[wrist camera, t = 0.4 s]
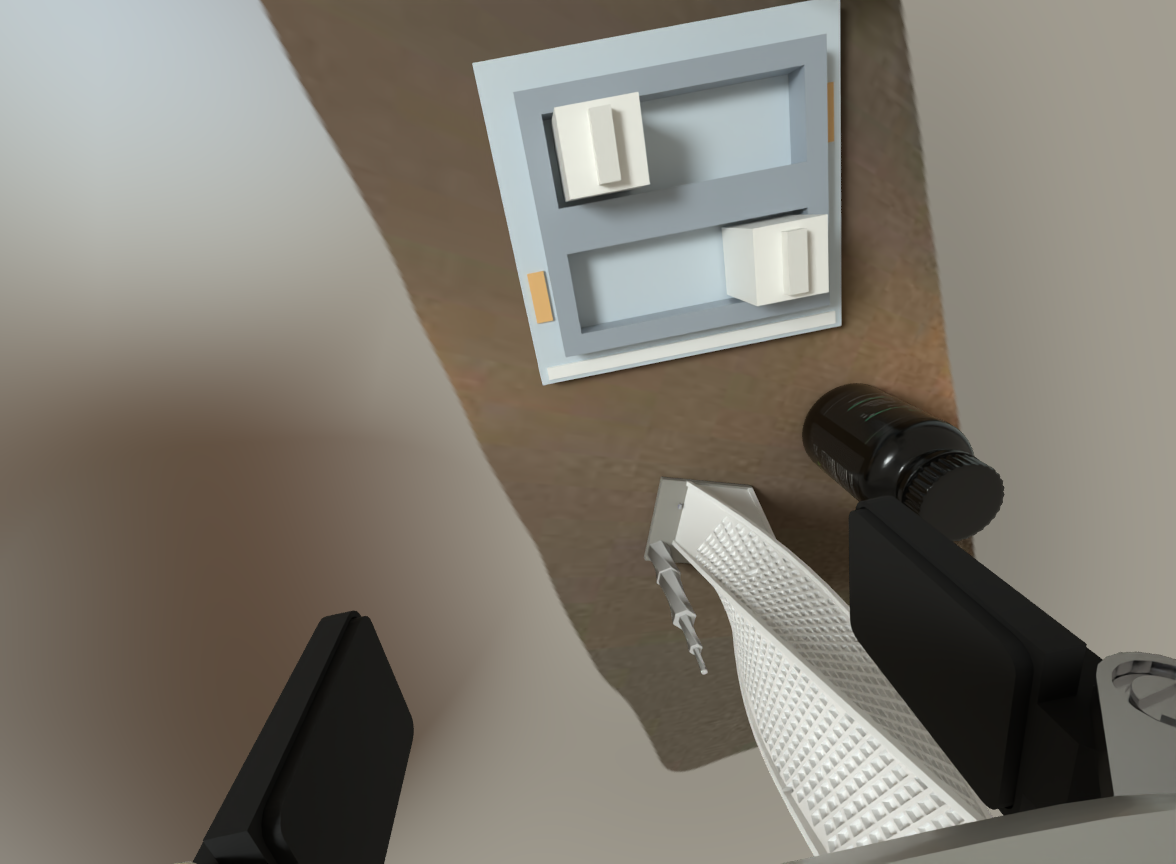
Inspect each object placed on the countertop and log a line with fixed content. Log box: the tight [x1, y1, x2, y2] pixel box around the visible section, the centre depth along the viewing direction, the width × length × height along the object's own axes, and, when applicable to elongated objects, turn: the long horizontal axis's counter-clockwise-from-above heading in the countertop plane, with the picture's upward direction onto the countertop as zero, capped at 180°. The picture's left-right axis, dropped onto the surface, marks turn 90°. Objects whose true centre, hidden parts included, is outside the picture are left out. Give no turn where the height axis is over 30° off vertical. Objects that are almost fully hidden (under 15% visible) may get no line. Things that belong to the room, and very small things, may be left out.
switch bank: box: [472, 0, 841, 385], centre depth 32 cm, size 18×20×4 cm
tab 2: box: [722, 214, 829, 306], centre depth 31 cm, size 4×4×6 cm
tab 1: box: [551, 92, 650, 202], centre depth 28 cm, size 4×4×6 cm
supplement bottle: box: [802, 384, 1004, 542], centre depth 35 cm, size 7×7×12 cm
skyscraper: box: [644, 477, 993, 856], centre depth 29 cm, size 8×8×28 cm
